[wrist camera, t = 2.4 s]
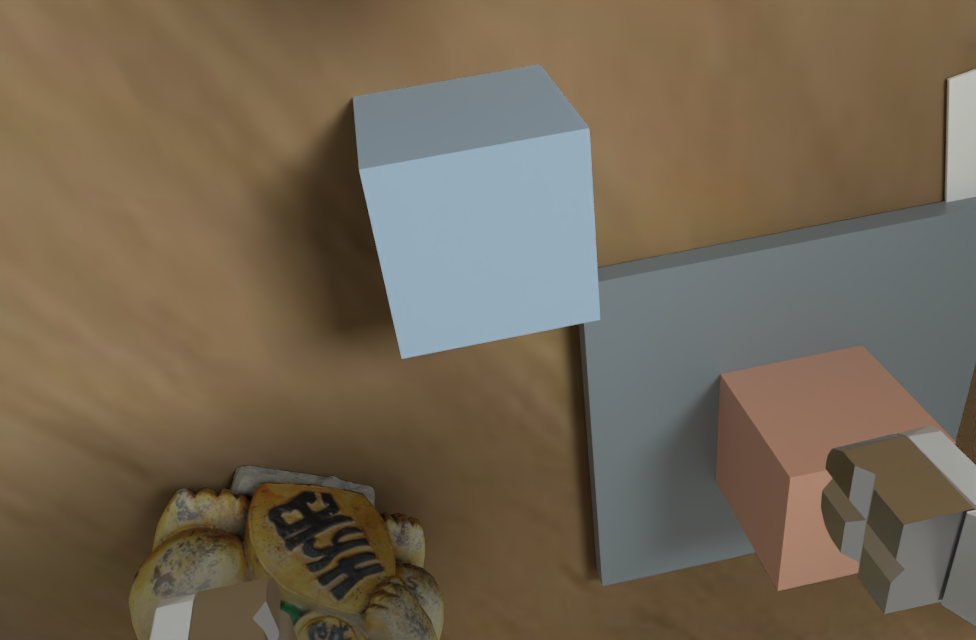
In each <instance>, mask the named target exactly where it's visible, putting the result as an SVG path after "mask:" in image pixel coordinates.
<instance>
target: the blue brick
mask: <svg viewBox="0 0 976 640" xmlns="http://www.w3.org/2000/svg"><path fill="white" fill-rule="evenodd" d="M353 106H354V118H355V130H356V142H357V153H358V165H359V172H360V177H361V181H362V186H363V190H364V195H365V199H366V203H367V208H368V212H369V217H370V221H371V225H372V230H373V234H374V239H375V243H376V248H377V252H378V256H379V261H380V265H381V270H382V274H383V279H384V283H385V287H386V292H387V296H388V301H389V305H390V309H391V314H392V318H393V323H394V327H395V332H396V336H397V340H398V345H399V349H400V354H401V358H402V359H404V358H409V357H414V356H419V355H424V354H429V353H434V352H440V351H445V350H450V349H455V348H460V347H465V346H470V345H475V344H480V343H485V342H490V341H495V340H500V339H505V338H510V337H516V336H521V335H526V334H531V333H536V332H541V331H546V330H551V329H556V328H561V327H566V326H571V325H576V324H581V323H586V322H592V321H597V320H600V305H599V287H598V270H597V252H596V234H595V217H594V199H593V181H592V164H591V146H590V129H589V127H588V125H587V124H586V123H585V122H584V120H583V119H582V118H581V116H580V115H579V114H578V113H577V111H576V110H575V109H574V107H573V106H572V105H571V103H570V102H569V101H568V100H567V98H566V97H565V96H564V94H563V93H562V92H561V91H560V89H559V88H558V87H557V85H556V84H555V83H554V81H553V80H552V79H551V78H550V76H549V75H548V74H547V72H546V71H545V70H544V69H543V67H542V66H541V65H540V64H539V65H533V66H527V67H522V68H516V69H510V70H504V71H499V72H493V73H487V74H482V75H476V76H470V77H464V78H459V79H453V80H447V81H442V82H436V83H430V84H424V85H419V86H413V87H407V88H402V89H396V90H390V91H384V92H379V93H373V94H367V95H361V96H356V97H353Z"/></svg>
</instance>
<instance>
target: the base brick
mask: <svg viewBox="0 0 976 640" xmlns="http://www.w3.org/2000/svg"><path fill="white" fill-rule="evenodd" d="M926 426H933V427H935V428H937V429H939V430H940V431H941V432H942V433H943V434H944V435H945V436H946V437H947V438H948V439H950V440H951V441H952V442H953V443H954V444H955V445H956V442H955V441H954V440H953V439H952V437H951V436H950V435H949V434H948V433H947V432H946V431H945V430H944V429H943V428H942V427H941V426H940V425H939V424H938V423H937V422H936V421H935V420H934V419H933V418H932V417H931V416H930V415H929V414H928V413H927V412H926V411H925V410H924V408H923V407H922V406H921V405H920V404H919V403H918V402H917V401H916V400H915V399H914V398H913V397H912V396H911V395H910V394H909V393H908V392H907V391H906V390H905V389H904V388H903V387H902V386H901V385H900V384H899V383H898V382H897V381H896V379H895V378H894V377H893V376H892V375H891V374H890V373H889V372H888V371H887V370H886V369H885V368H884V367H883V366H882V365H881V364H880V363H879V362H878V361H877V360H876V359H875V358H874V357H873V356H872V355H871V354H870V353H869V352H868V350H867V349H866V348H865V347H864V346H863V345H861V346H856V347H851V348H846V349H841V350H836V351H831V352H826V353H821V354H817V355H812V356H807V357H802V358H797V359H792V360H787V361H782V362H777V363H772V364H768V365H763V366H758V367H753V368H748V369H743V370H738V371H733V372H728V373H723V374H720V394H719V417H718V440H717V463H716V483H717V485H718V486H719V488H720V490H721V492H722V493H723V495H724V497H725V499H726V501H727V502H728V504H729V506H730V508H731V509H732V511H733V513H734V515H735V517H736V518H737V520H738V522H739V524H740V525H741V527H742V529H743V531H744V533H745V534H746V536H747V538H748V540H749V541H750V543H751V545H752V547H753V548H754V550H755V552H756V554H757V556H758V557H759V559H760V561H761V563H762V564H763V566H764V568H765V570H766V572H767V573H768V575H769V577H770V579H771V580H772V582H773V584H774V586H775V588H776V589H777V591H780V590H785V589H789V588H794V587H798V586H803V585H807V584H812V583H816V582H821V581H825V580H830V579H834V578H838V577H843V576H847V575H852V574H856V573H858V570H859V562H858V561H856V560H854V559H852V558H850V557H848V556H846V555H844V554H842V553H840V551H839V550H838V548H837V547H836V545H835V544H834V542H833V541H832V539H831V537H830V535H829V533H828V531H827V529H826V527H825V524H824V520H823V515H822V511H821V498H822V490H823V489H824V488H825V487H826V485H827V484H828V483H829V482H830V481H831V480H832V477H831V475H830V474H829V473H828V471H827V470H826V469H825V467H826V460H827V455H828V454H829V452H830V451H831V450H832V448H836V447H840V446H844V445H849V444H853V443H857V442H861V441H865V440H869V439H874V438H878V437H882V436H886V435H890V434H897V433H900V432H904V431H908V430H913V429H917V428H921V427H926Z"/></svg>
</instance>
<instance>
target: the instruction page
mask: <svg viewBox="0 0 976 640" xmlns="http://www.w3.org/2000/svg"><path fill="white" fill-rule="evenodd" d="M972 197H976V69H973V70H970V71H968V72H965V73H962V74H959V75H956V76H953V77H951V78H948V79H947V115H946V161H945V202H951V201H956V200H961V199H967V198H972Z"/></svg>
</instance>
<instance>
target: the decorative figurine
mask: <svg viewBox="0 0 976 640" xmlns="http://www.w3.org/2000/svg"><path fill="white" fill-rule="evenodd" d="M424 559H425V537H424V533H423V529H422V526H421V524H420V522H419V521H418V519H416V518H412V517H410V518H407V516H406V515H404V514H400V513H396V514H393V515H389V514H388V513H387V512H384V513H383V514H381V515H380V514H379V512H378V511H377V510H376V508H375V491H374V489H373V488H372V487H371V486H368V485H362V484H356V483H355V484H353V483H352V482H348V481H343V480H341V479H339V478H337V477H334V476H329V477H322V476H316V475H309V474H303V473H296V472H288V471H281V470H274V469H265V468H262V467H258V466H249V465H246V466H241V467H239V468H237V469H236V471H235V474H234V479H233V482H232V485H231V487H230V490H228V489H222V490H221V491H220V492H219V493H216V492H215V491H213V490H212V489H208V488H203V489H201V490H199V491H197V492H196V493H194V492H192V491H190V490H188V489H186V488H183V489H178V491H177V492H176V493H175V494H174V495H173V497H172V498H171V499H170V501H169V503H168V504H167V506H166V508H165V510H164V512H163V514H162V516H161V518H160V520H159V522H158V524H157V527H156V532H155V538H154V543H153V549H152V552H151V553H150V554H149V556H148V557H147V558H146V559H145V561H144V562H143V563H142V565H141V567H140V568H139V570H138V572H137V573H136V575H135V577H134V579H133V583H132V587H131V591H130V595H129V599H128V602H129V608H130V614H131V620H132V625H133V628H134V631H135V633H136V636H137V639H138V640H149V638H150V633H151V628H152V623H153V618H154V613H155V610H156V608H157V607H158V605H159V603H160V601H161V600H163V599H168V598H172V597H177V596H182V595H187V594H192V593H197V592H199V591H204V590H209V589H214V588H219V587H224V586H229V585H234V584H239V583H244V582H249V581H254V580H259V579H264V578H269V577H271V578H274V580H275V582H276V584H277V586H278V588H279V591H280V593H281V602H280V610H282V611H284V612H286V613H288V614H289V615H290V618H291V620H292V623H293V626H294V629H295V633H296V637H297V640H440V636H441V633H442V629H443V625H444V603H443V594H442V591H441V590H440V588H439V586H438V584H437V582H436V581H435V579H434V577H433V576H432V575H430V574H429V573H428V572H427V571H426V570H425V569H423V566H424Z"/></svg>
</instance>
